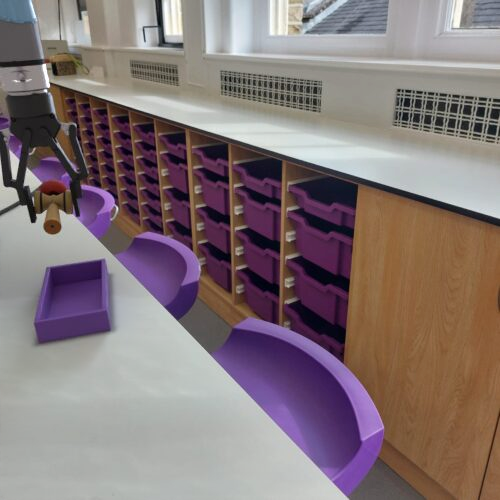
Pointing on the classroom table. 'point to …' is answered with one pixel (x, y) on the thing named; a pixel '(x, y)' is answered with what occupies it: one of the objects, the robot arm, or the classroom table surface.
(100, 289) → the tote
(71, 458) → the classroom table surface
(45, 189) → the kendama
